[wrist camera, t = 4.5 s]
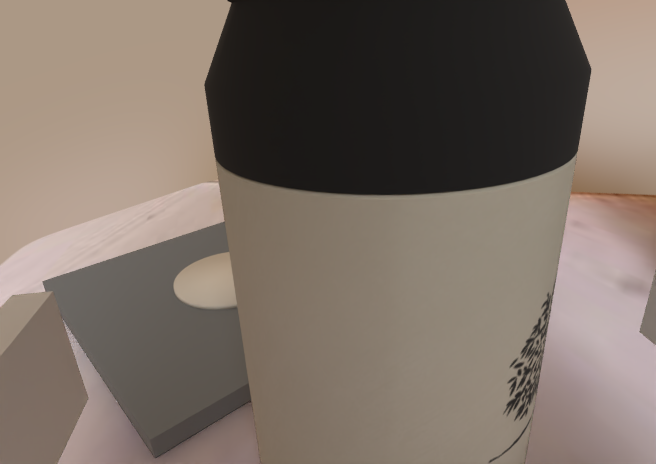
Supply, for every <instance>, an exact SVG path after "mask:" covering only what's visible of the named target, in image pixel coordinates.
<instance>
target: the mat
mask: <svg viewBox="0 0 656 464" xmlns="http://www.w3.org/2000/svg"><path fill="white" fill-rule="evenodd" d="M42 282H43V285H44V288H45V291H46V292H51V291H53V293H54V296H55V299H56V302H57V305H58V308H59V311H60V314H61V317H62V318H63V320H64V321H65V323H66V324H67V326H68V327H69V329H70V330H71V332H72V333H73V335H74V336H75V338H76V339H77V341H78V343H79V344H80V346H81V347H82V349H83V350H84V352H85V353H86V355H87V356H88V358H89V359H90V361H91V362H92V364H93V365H94V367H95V368H96V370H97V371H98V373H99V374H100V376H101V377H102V379H103V380H104V382H105V383H106V385H107V386H108V388H109V389H110V391H111V392H112V394H113V395H114V397H115V398H116V400H117V401H118V403H119V405H120V406H121V408H122V409H123V411H124V412H125V414H126V415H127V417H128V418H129V420H130V421H131V423H132V424H133V426H134V427H135V429H136V430H137V432H138V433H139V435H140V436H141V438H142V439H143V441H144V442H145V444H146V445H147V447H148V448H149V450H150V451H151V453H152V454H153V456H154V457H155V458H156V457H158V456H159V455H161V454H163V453H164V452H166V451H168V450H169V449H171V448H173V447H174V446H176V445H178V444H179V443H181V442H182V441H184V440H186V439H187V438H189V437H191V436H192V435H194V434H196V433H197V432H199V431H201V430H202V429H204V428H206V427H207V426H209V425H211V424H212V423H214V422H215V421H217V420H219V419H220V418H222V417H224V416H225V415H227V414H229V413H230V412H232V411H234V410H235V409H237V408H239V407H240V406H242V405H244V404H245V403H247V402H249V401H250V400H251V395H250V388H249V381H248V374H247V368H246V361H245V354H244V347H243V341H242V334H241V327H240V321H239V314H238V307H237V300H236V294H235V287H234V280H233V274H232V267H231V260H230V253H229V247H228V240H227V233H226V226H225V222H222V223H219V224H216V225H213V226H210V227H207V228H204V229H201V230H198V231H195V232H192V233H189V234H186V235H182V236H179V237H176V238H173V239H170V240H167V241H164V242H161V243H158V244H155V245H152V246H149V247H146V248H143V249H140V250H137V251H134V252H131V253H128V254H125V255H122V256H118V257H115V258H112V259H109V260H106V261H103V262H100V263H97V264H94V265H91V266H88V267H85V268H82V269H79V270H76V271H73V272H70V273H67V274H64V275H61V276H57V277H54V278H51V279H48V280H45V281H42Z"/></svg>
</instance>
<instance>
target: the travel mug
mask: <svg viewBox="0 0 656 464" xmlns="http://www.w3.org/2000/svg"><path fill="white" fill-rule="evenodd" d="M228 1H229V2H231V3H232V4H231V7H230V10H229V13H228V16H227V19H226V22H225V25H224V28H223V31H222V34H221V37H220V40H219V43H218V45H217V48H216V52H215V54H214V57H213V60H212V63H211V66H210V69H209V72H208V75H207V78H206V81H205V91H206V99H207V105H208V112H209V119H210V125H211V132H212V139H213V145H214V153H215V158H216V166H217V172H218V179H219V186H220V193H221V200H222V206H223V213H224V220H225V226H226V233H227V240H228V247H229V253H230V260H231V267H232V274H233V280H234V287H235V294H236V300H237V307H238V314H239V321H240V327H241V334H242V341H243V347H244V354H245V361H246V368H247V374H248V381H249V388H250V395H251V401H252V408H253V415H254V421H255V428H256V435H257V442H258V448H259V455H260V462H261V464H525V459H526V453H527V447H528V441H529V435H530V429H531V423H532V418H533V412H534V406H535V400H536V394H537V388H538V382H539V376H540V370H541V364H542V358H543V353H544V347H545V341H546V335H547V329H548V323H549V317H550V311H551V305H552V299H553V294H554V288H555V282H556V276H557V270H558V264H559V258H560V252H561V246H562V240H563V234H564V229H565V223H566V217H567V211H568V205H569V199H570V193H571V187H572V181H573V175H574V169H575V164H576V158H577V151H578V145H579V140H580V134H581V128H582V121H583V116H584V110H585V104H586V99H587V92H588V87H589V81H590V75H591V67H590V64H589V62H588V59H587V56H586V54H585V51H584V49H583V46H582V43H581V41H580V38H579V35H578V33H577V30H576V27H575V25H574V22H573V19H572V17H571V14H570V11H569V9H568V6H567V3H566V1H565V0H228Z"/></svg>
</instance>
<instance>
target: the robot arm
mask: <svg viewBox="0 0 656 464" xmlns="http://www.w3.org/2000/svg"><path fill="white" fill-rule="evenodd" d="M640 333H641V334H643V335H644V336H645V337H646V338H648V339H649V340H650V341H651V342H652V343H654V344H655V345H656V271H655V275H654V279H653V283H652V287H651V290H650V294H649V298H648V302H647V305H646V309H645V313H644V317H643V320H642V324H641V328H640ZM87 400H88V395H87V392H86V389H85V386H84V383H83V380H82V377H81V374H80V371H79V368H78V365H77V362H76V359H75V356H74V353H73V350H72V347H71V344H70V341H69V338H68V335H67V332H66V329H65V326H64V323H63V320H62V317H61V314H60V311H59V308H58V305H57V302H56V299H55V296H54V293H53V291H51V292H41V293H31V294H21V295H12V296H11V297H10V298H9V299H8V300H7V301H6V303H5V304H4V305H3V306H2V307H1V308H0V464H57V463H58V461H59V459H60V457H61V455H62V453H63V451H64V448H65V446H66V444H67V442H68V440H69V438H70V436H71V434H72V432H73V430H74V427H75V425H76V423H77V421H78V419H79V417H80V415H81V413H82V411H83V409H84V407H85V404H86V402H87Z"/></svg>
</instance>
